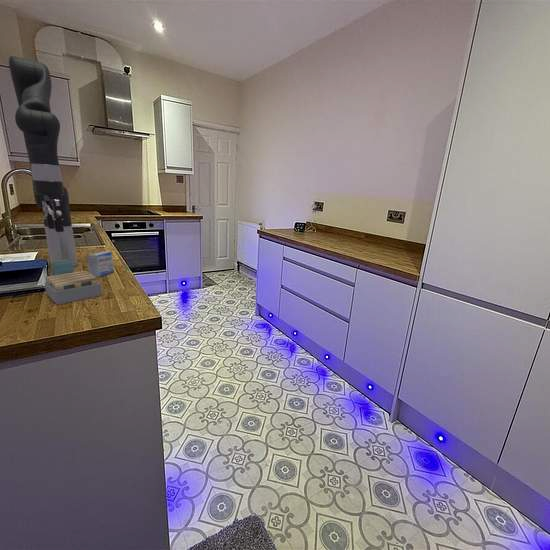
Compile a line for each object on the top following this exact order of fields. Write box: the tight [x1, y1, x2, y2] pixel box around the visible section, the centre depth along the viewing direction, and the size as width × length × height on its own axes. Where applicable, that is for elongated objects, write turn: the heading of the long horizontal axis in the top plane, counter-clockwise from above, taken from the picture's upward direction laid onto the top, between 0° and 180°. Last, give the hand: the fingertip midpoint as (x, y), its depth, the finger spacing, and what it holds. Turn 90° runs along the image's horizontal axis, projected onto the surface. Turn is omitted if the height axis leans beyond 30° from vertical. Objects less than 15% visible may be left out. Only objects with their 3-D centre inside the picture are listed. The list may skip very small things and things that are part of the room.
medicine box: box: [87, 250, 115, 278], centre depth 114 cm, size 8×4×9 cm, turn 168°
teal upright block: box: [50, 260, 74, 276], centre depth 101 cm, size 5×5×8 cm
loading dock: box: [44, 281, 103, 306], centre depth 92 cm, size 12×12×4 cm
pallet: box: [45, 270, 98, 291], centre depth 91 cm, size 11×11×2 cm
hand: (56, 230), depth 97 cm, fingers open, 8 cm apart
